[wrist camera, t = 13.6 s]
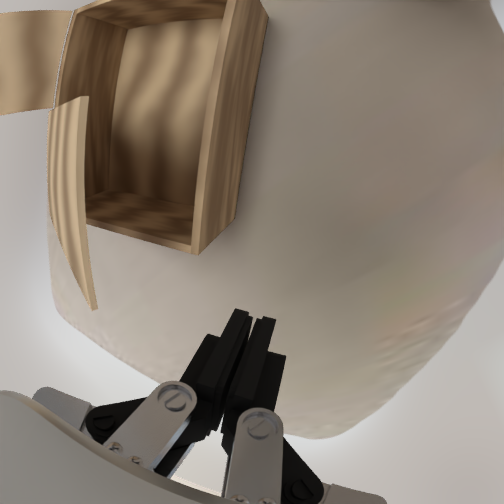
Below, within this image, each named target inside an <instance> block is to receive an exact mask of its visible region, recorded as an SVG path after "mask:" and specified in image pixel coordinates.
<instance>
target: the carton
mask: <svg viewBox="0 0 504 504" xmlns="http://www.w3.org/2000/svg"><path fill="white" fill-rule="evenodd" d="M268 18H269V17H268V15H267V13H266V11H265V9H264V7H263V6H262V4H261V2H260V0H98V1H95V2H93V3H90V4H88V5H85V6H83V7H81V8H79V9H76V10H75V11H74V13H73V17H72V20H71V24H70V27H69V31H68V34H67V38H66V43H65V47H64V51H63V56H62V61H61V66H60V72H59V78H58V85H57V91H56V100H55V108H56V107H58V106H61V105H63V104H65V103H67V102H69V101H71V100H73V99H76V98H78V97H80V96H89V102H88V111H87V121H86V135H85V159H84V189H85V213H86V224H89V225H92V226H95V227H99V228H102V229H106V230H109V231H113V232H116V233H120V234H123V235H127V236H130V237H134V238H137V239H141V240H144V241H148V242H151V243H155V244H159V245H162V246H166V247H169V248H173V249H177V250H180V251H184V252H187V253H191V254H195V255H199V254H200V253H201V252H202V251H203V250H204V249H205V248H206V247H207V246H208V245H209V244H210V243H211V242H212V241H213V240H214V239H215V238H216V237H217V236H218V235H219V234H220V233H221V232H222V231H223V230H224V229H225V228H226V227H227V226H228V225H229V224H230V223H231V222H232V221H233V220H234V219H235V213H236V206H237V199H238V193H239V186H240V179H241V173H242V166H243V160H244V154H245V147H246V141H247V135H248V129H249V123H250V117H251V111H252V105H253V99H254V93H255V88H256V82H257V76H258V71H259V65H260V60H261V54H262V49H263V44H264V38H265V33H266V28H267V23H268Z"/></svg>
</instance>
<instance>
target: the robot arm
mask: <svg viewBox="0 0 504 504" xmlns="http://www.w3.org/2000/svg"><path fill="white" fill-rule="evenodd" d="M248 315H249V312H247V311H243V310H240V309H235V310H234V312H233V314H232V315H231V317H230V319H229V321H228V323H227V325H226V327H225V329H224V331H223V333H222V335H221V337H217V336H214V335H211V334H207V335H206V337H205V338H204V340H203V341H202V343H201V345H200V347H199V348H198V350H197V352H196V353H195V355H194V357H193V359H192V360H191V362H190V364H189V365H188V367H187V369H186V371H185V372H184V374H183V376H182V377H181V379H180V381H168V382H165V383H162V384H160V385H159V386H158V387H156V389H155V390H154V391H153V392H152V393H151V394H150V395H149V396H148V397H145V398H140V399H136V400H130V401H125V402H120V403H114V404H109V405H103V406H98V407H95V406H92V405H91V403H89V402H86V401H83V400H81V399H78V398H76V397H73V396H70V395H68V394H65V393H63V392H60V391H58V390H56V389H53V388H50V387H43V388H41V389H39V390H37V392H36V393H35V394H34V396H33V398H32V399H31V398H29V397H27V396H25V395H22V394H20V393H16V392H13V391H5V390H3V391H0V504H387V502H386V500H385V499H384V498H383V497H381V496H378V495H374V494H370V493H365V492H361V491H357V490H353V489H349V488H346V487H342V486H339V485H335V484H331V485H329V484H326V483H323V482H321V481H320V479H319V478H318V477H317V476H316V475H315V474H314V472H312V470H311V469H310V468H309V467H308V466H307V464H306V463H305V462H304V461H303V460H302V459H301V458H300V456H299V455H298V454H297V453H296V452H295V450H294V449H293V448H292V447H291V446H290V444H289V443H288V442H287V441H286V439H285V438H284V437H283V423H282V421H281V419H280V417H279V416H278V415H277V414H276V413H274V409H275V405H276V401H277V396H278V392H279V388H280V383H281V379H282V374H283V370H284V365H285V360H286V356H285V355H281V354H277V353H273V352H269V351H268V347H269V344H270V340H271V337H272V333H273V330H274V326H275V323H276V319H273V318H269V317H265V316H263V318H262V319H259V318H257V319H256V322H255V324H254V327H253V330H252V332H251V335H250V337H249V334H250V329H251V325H252V320H253V317H251V316H248ZM248 338H249V340H248ZM223 414H224V417H223ZM222 417H223V422H222V427H221V433H223V439H222V444H221V445H222V447H223V449H224V450H225V452H226V453H227V455H228V457H227V464H226V469H225V476H224V481H223V488H222V493H221V497H219V496H216V495H213V494H209V493H206V492H203V491H200V490H197V489H194V488H191V487H189V486H186V485H183V484H181V483H178V482H176V481H173V480H171V479H170V478H171V477H172V476H173V474H174V473H175V471H176V470H177V468H178V467H179V466H180V465H181V463H182V462H183V460H184V459H185V457H186V456H187V455H188V453H189V452H190V450H191V449H192V447H193V446H194V444H195V442H198V441H201V440H204V439H205V437H206V435H207V436H209V435H210V432H211V430H214V431H217V429H218V427H219V424H220V422H221V419H222Z"/></svg>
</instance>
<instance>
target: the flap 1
mask: <svg viewBox="0 0 504 504" xmlns="http://www.w3.org/2000/svg"><path fill="white" fill-rule="evenodd" d="M71 14H72V11H59V10H41V11H40V10H38V11H19V12H8V13H0V115H5V114H11V113H17V112H24V111H30V110H38V109H47V108H53V101H54V93H55V86H56V79H57V73H58V67H59V61H60V57H61V52H62V48H63V44H64V39H65V35H66V31H67V28H68V24H69V21H70V17H71Z"/></svg>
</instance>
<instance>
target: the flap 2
mask: <svg viewBox="0 0 504 504" xmlns="http://www.w3.org/2000/svg"><path fill="white" fill-rule="evenodd" d="M88 102H89V96H80V97H78V98H76V99H73V100H71V101H69V102H67V103H65V104H63V105H61V106H58V107H56V108H54V109H53V110H50V111H49V119H48V133H47V183H48V200H49V211H50V216H51V219H52V222H53V225H54V228H55V230H56V233H57V236H58V238H59V241H60V244H61V246H62V249H63V251H64V253H65V256H66V258H67V260H68V263H69V265H70V267H71V270H72V272H73V274H74V276H75V278H76V280H77V283H78V285H79V287H80V289H81V291H82V293H83V295H84V297H85V299H86V301H87V303H88V305H89V306H90V308H91V310H92V311H93V310H96V309H98V306H97V301H96V295H95V290H94V284H93V278H92V271H91V264H90V257H89V248H88V239H87V227H86V213H85V189H84V159H85V135H86V121H87V111H88Z"/></svg>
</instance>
